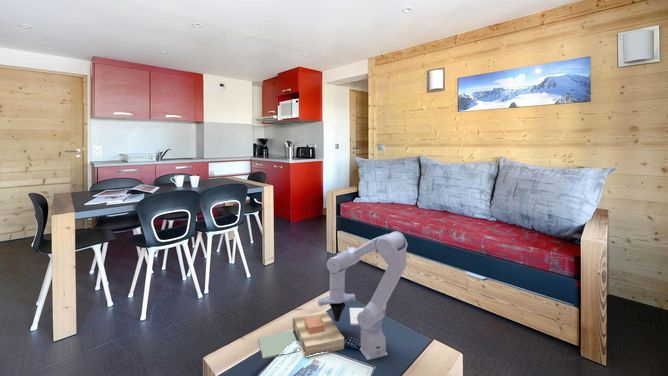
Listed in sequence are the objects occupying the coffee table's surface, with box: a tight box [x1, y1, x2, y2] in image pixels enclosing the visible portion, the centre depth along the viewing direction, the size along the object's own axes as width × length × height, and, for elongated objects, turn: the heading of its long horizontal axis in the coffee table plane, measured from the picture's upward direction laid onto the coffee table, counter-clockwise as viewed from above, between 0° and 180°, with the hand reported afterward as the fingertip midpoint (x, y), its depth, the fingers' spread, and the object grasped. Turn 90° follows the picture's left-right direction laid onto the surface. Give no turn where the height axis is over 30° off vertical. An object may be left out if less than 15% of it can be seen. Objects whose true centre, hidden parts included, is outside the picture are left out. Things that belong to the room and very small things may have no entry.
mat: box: [258, 330, 301, 360], centre depth 112 cm, size 12×13×1 cm
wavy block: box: [292, 310, 345, 357], centre depth 117 cm, size 20×14×4 cm
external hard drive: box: [348, 307, 365, 327], centre depth 131 cm, size 2×8×12 cm
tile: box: [304, 315, 325, 334], centre depth 117 cm, size 7×6×2 cm
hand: (336, 320), depth 120 cm, fingers closed
